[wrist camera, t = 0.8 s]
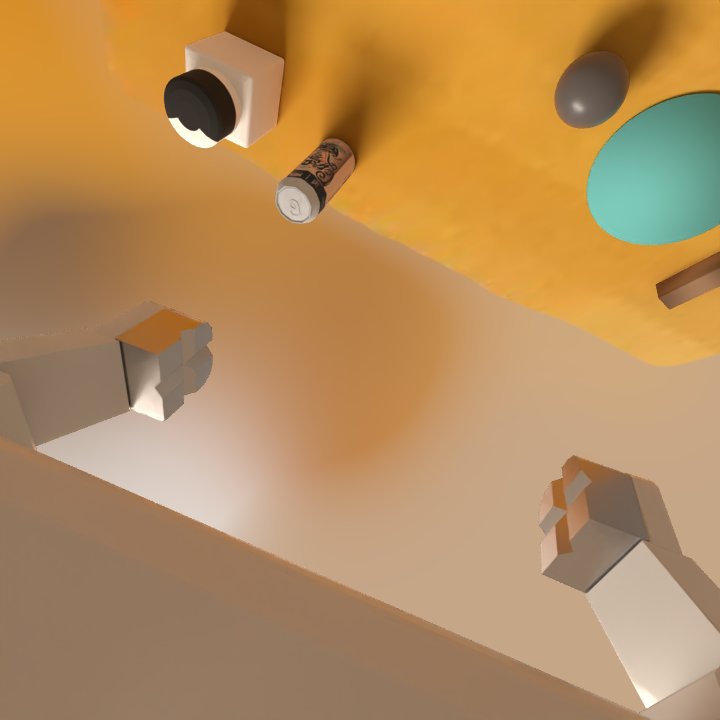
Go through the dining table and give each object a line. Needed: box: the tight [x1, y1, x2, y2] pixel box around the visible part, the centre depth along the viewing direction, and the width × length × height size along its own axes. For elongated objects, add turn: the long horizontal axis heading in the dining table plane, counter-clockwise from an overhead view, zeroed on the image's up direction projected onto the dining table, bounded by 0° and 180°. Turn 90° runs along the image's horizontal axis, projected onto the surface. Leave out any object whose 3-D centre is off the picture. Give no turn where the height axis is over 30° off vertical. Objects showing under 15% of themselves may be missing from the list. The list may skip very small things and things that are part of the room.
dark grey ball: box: [555, 51, 629, 129], centre depth 36 cm, size 6×6×6 cm
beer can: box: [276, 138, 355, 224], centre depth 46 cm, size 5×5×12 cm
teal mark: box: [587, 93, 720, 245], centre depth 40 cm, size 14×14×1 cm
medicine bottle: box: [164, 31, 285, 148], centre depth 43 cm, size 7×7×12 cm
